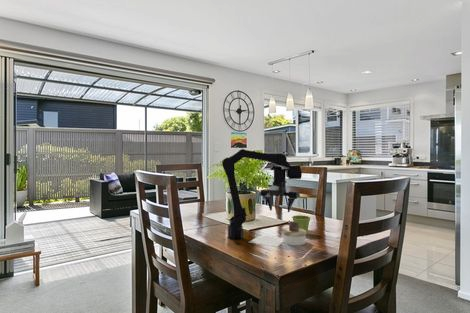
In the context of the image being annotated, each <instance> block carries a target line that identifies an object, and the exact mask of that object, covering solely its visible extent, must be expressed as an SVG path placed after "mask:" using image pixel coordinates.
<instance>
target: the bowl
mask: <svg viewBox="0 0 470 313" xmlns="http://www.w3.org/2000/svg"><path fill="white" fill-rule="evenodd" d="M306 235H307V234H306ZM306 235H305V236H299V237H294V236H287V235H284V234H282V238H283V243H282V244H285V245H289V246H291V245H292V246H301V245H305V244H306V242H307V241H306V238H307V237H306Z"/></svg>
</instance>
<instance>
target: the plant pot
mask: <svg viewBox="0 0 470 313" xmlns="http://www.w3.org/2000/svg"><path fill="white" fill-rule="evenodd" d="M291 218H292V221H293V222H299V228H300V229H304V230H306V235H308V232H309V225H310V221H311V219H312V218H311V216H308V215H300V214H299V215H293V216H292V217H291Z"/></svg>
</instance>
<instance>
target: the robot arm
mask: <svg viewBox="0 0 470 313" xmlns="http://www.w3.org/2000/svg"><path fill="white" fill-rule="evenodd" d="M243 158H247V159H253V160H259V161H264V162H268V163H271V164H272V166H271V167H270V168H269V170H270V171H273V181H272V185H271V186H270V187H269V188H267V189H266V188H265V189H261V190H260V191H259V192H260V193H259V196H261V197H262V198H263V199H265V201H266V202H267V203H266V204H267V205H268V208H269V210H270V211H272V210H273V196H274V197H279V196H284V197H287V212H288V213H290V211H291V209H292V206H293V204H294V202H295V200H297V199H298V198H300V197H301V193H300V191H299V190H290V191H287V189H286V187H287V186H286V184H287V180H286V178H288V180H301V179H302V177H303V176H302V175H303V174H302V173H303V172H302V168H301V165H298V164H297V165H290V163H289V162H288V161H287V160H288V159H287V157H286V155H285V154H284V153H265V152H259V151H258V152H257V151H254V150H247V149H244V148H241V149H239V150H238V151H237V152H236V153H234V154H233V155H231V156H230V157H225V158H224V159H223V160H222V161H221V165H222V168H223V171H224V173H225V175H226V178H227V182H228V187H229V191H230V192H229V193H230V196H231V202H232V214H233V215H232V217H230V219H229V220H228V222H229V225H228V228H227V230H228V231H227V232H228V237H227V239H230V240H235V241H239V240H241V239H243V238H244V228H243V224H244V223H245V222H246V220H247V217H248V215H247V213H246V207H245V206H244V205H242V204H241V200H240V195H239V190H238V185H237V181H236V177H235V176H236V175H235V172H236V171H235V170H236V169H235V167H236V166H235V164H237V163H238V162H240V160H242V159H243ZM275 165H277V166H275Z"/></svg>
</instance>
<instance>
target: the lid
mask: <svg viewBox="0 0 470 313" xmlns="http://www.w3.org/2000/svg"><path fill="white" fill-rule="evenodd" d="M288 223H289V224H288V227H285V228H282V229H281V233H282V234H281V235H283V234H284V235H287V236H294V237H299V236H305V235H307V234H306V230H304V229H300V228H299V222H294V221H293V220H291V221H290V220H289V222H288Z"/></svg>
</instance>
